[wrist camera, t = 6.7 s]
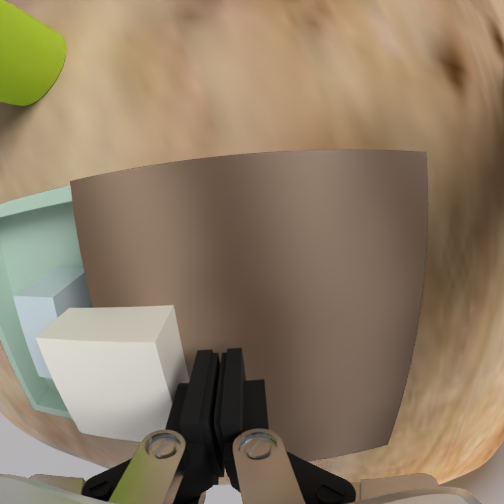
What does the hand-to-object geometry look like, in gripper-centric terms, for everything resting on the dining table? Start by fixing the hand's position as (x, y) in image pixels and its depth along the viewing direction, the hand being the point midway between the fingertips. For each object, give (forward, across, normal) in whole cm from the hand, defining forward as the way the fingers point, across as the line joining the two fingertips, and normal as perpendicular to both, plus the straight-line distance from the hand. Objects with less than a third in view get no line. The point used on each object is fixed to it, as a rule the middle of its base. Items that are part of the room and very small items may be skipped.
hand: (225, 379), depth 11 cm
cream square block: (+1, +4, 0) cm, 4 cm away
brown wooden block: (+7, -2, 0) cm, 7 cm away
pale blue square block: (+4, +8, -1) cm, 9 cm away
